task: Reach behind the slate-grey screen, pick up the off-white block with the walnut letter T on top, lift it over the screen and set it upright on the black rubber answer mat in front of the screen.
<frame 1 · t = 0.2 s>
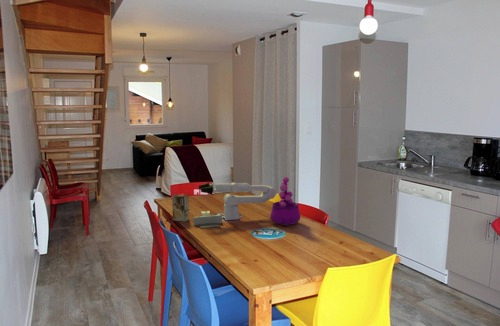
hand: (199, 188, 265), 21 cm above the table, tool horizontal, fingers open, 7 cm apart
decorative plant: (285, 223, 263), on the table
answer mat: (209, 226, 257), on the table
letter block: (205, 221, 268), on the table
coffee box: (180, 220, 271), on the table
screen: (207, 223, 262), on the table
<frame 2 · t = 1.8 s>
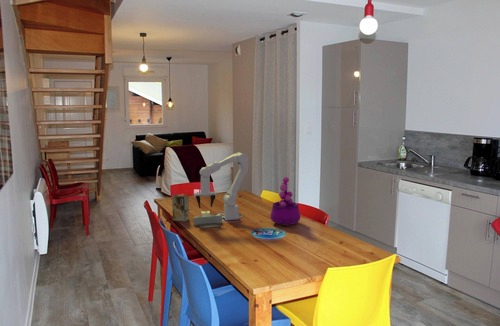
hand: (205, 207, 267), 9 cm above the table, tool pointing down, fingers open, 7 cm apart
nothing on the table moved.
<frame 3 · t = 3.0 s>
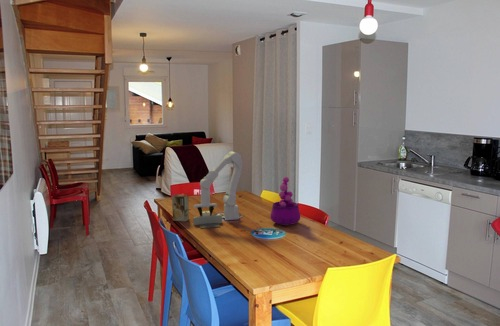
hand: (205, 218, 268), 2 cm above the table, tool pointing down, fingers closed on letter block, 5 cm apart
letter block: (205, 220, 268), on the table, touching gripper
everything else where it was.
when the fingers open (4 cm above the table, at t = 7.1 s): letter block drops 1 cm, resting on answer mat.
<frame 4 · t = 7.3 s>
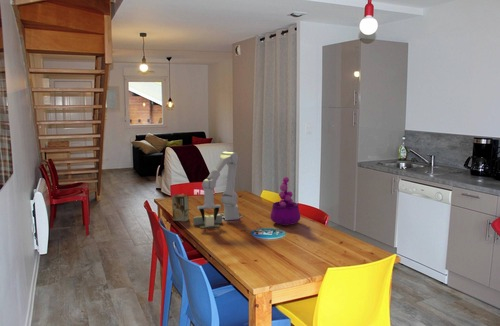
hand: (209, 220, 257), 4 cm above the table, tool pointing down, fingers open, 6 cm apart
letter block: (209, 225, 257), resting on answer mat
everything else where it was.
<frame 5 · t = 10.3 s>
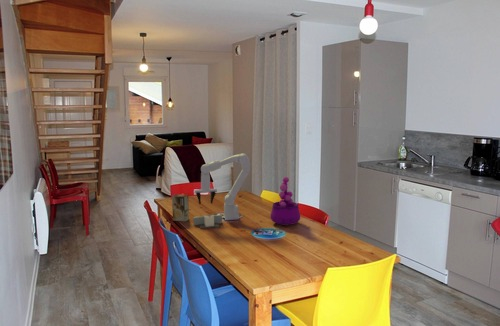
hand: (205, 203, 271), 10 cm above the table, tool pointing down, fingers open, 7 cm apart
nothing on the table moved.
at the end: letter block inside the target area (0.3 cm from its centre), point 0.5 cm above the table; letter block tilted 0°; the gripper is holding nothing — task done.
